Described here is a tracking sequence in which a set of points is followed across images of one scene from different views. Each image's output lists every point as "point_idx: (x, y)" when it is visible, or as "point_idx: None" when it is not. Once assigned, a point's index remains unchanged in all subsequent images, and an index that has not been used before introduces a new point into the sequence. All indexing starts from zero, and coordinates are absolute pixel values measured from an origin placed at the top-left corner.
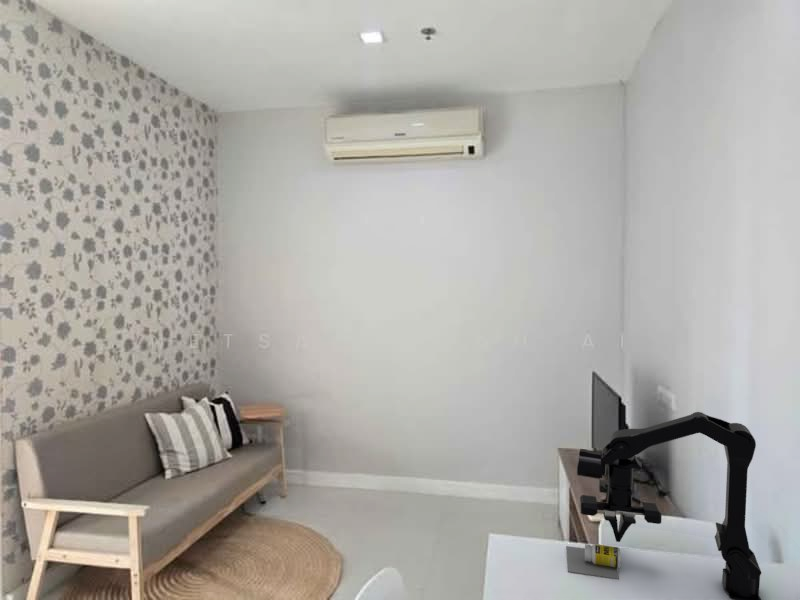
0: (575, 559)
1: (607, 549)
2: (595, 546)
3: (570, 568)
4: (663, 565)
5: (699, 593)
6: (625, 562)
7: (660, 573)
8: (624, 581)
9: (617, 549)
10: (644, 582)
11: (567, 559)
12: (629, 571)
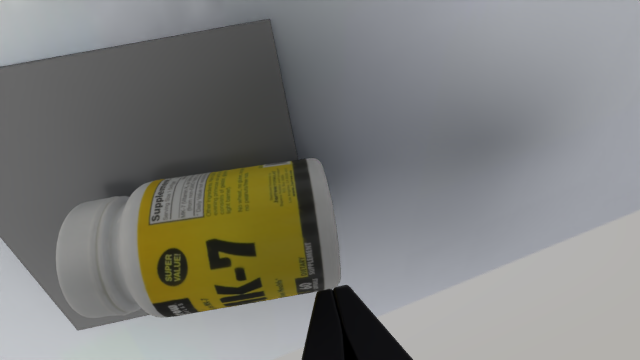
0: (56, 229)
1: (251, 297)
2: (156, 309)
3: None
4: (583, 35)
5: (635, 211)
6: (353, 106)
7: (530, 134)
8: (342, 270)
9: (323, 277)
10: (429, 239)
11: (13, 250)
12: (370, 188)
